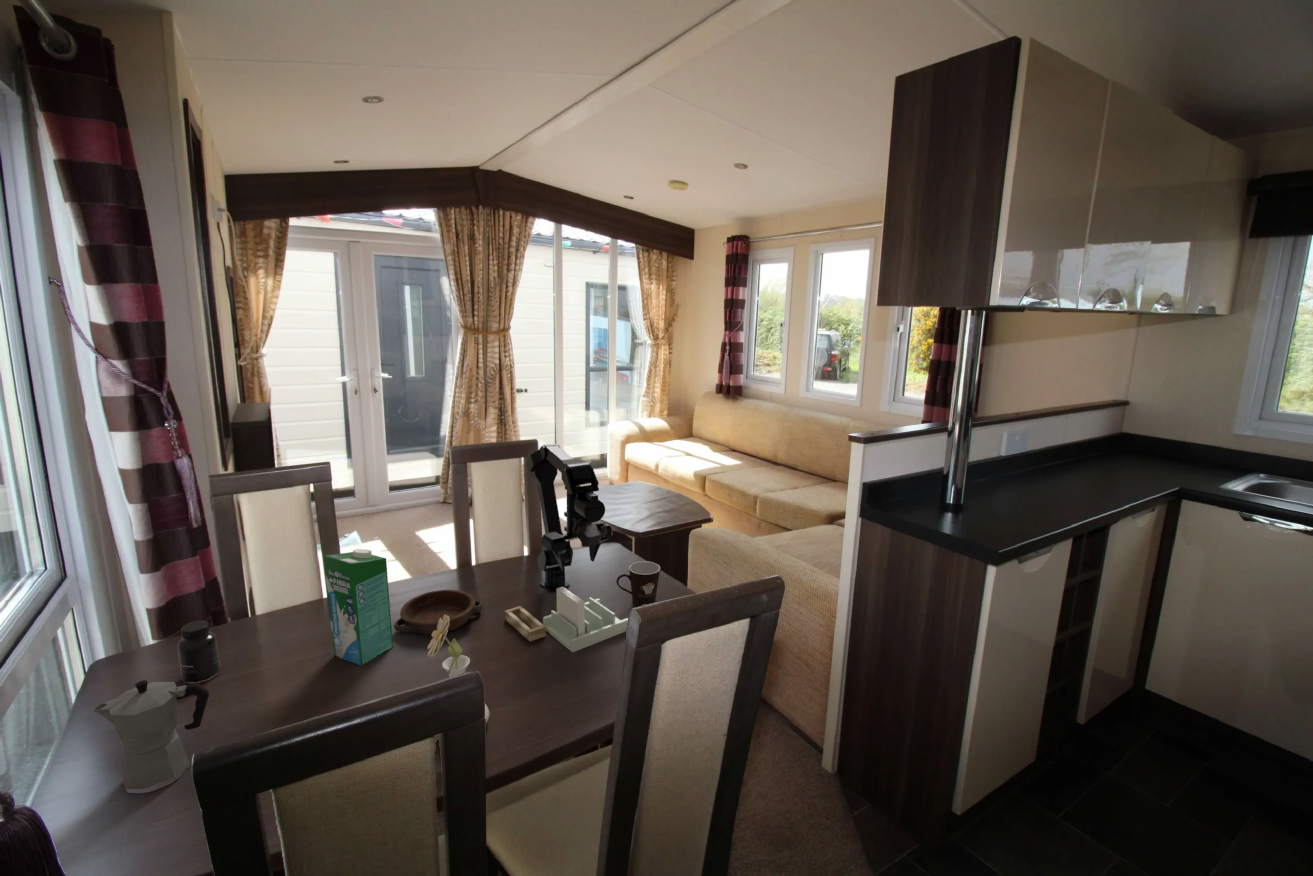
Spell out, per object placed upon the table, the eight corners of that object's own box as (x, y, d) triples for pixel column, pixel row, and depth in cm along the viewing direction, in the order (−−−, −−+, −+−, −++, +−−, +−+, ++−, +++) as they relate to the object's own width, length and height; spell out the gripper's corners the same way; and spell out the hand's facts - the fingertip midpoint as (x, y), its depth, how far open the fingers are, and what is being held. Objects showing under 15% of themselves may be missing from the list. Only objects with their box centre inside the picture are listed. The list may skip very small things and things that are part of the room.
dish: (385, 620, 157) (384, 602, 156) (469, 597, 170) (468, 581, 169) (404, 651, 144) (403, 632, 143) (493, 624, 157) (493, 606, 156)
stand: (505, 619, 159) (505, 610, 158) (520, 614, 161) (520, 605, 161) (529, 641, 149) (529, 632, 148) (545, 636, 151) (545, 626, 151)
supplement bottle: (179, 689, 128) (170, 637, 125) (185, 671, 134) (177, 621, 131) (218, 680, 131) (211, 629, 128) (223, 663, 137) (216, 615, 134)
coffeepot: (97, 806, 98) (77, 708, 94) (119, 766, 107) (101, 675, 103) (212, 778, 104) (198, 685, 100) (224, 743, 113) (211, 655, 109)
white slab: (557, 624, 155) (556, 588, 153) (563, 622, 156) (562, 586, 154) (578, 641, 147) (578, 603, 145) (584, 639, 148) (584, 601, 146)
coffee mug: (660, 594, 174) (661, 562, 172) (657, 609, 166) (658, 575, 164) (620, 592, 175) (620, 559, 173) (615, 606, 167) (615, 572, 165)
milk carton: (393, 647, 145) (385, 548, 140) (361, 666, 137) (351, 563, 132) (366, 637, 149) (358, 541, 143) (333, 656, 141) (323, 555, 135)
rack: (543, 628, 155) (542, 610, 154) (598, 608, 166) (598, 591, 165) (572, 652, 144) (572, 633, 143) (629, 629, 155) (629, 612, 154)
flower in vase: (441, 705, 125) (434, 593, 119) (496, 708, 124) (492, 595, 119) (414, 751, 112) (406, 627, 106) (476, 754, 111) (470, 630, 106)
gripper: (562, 526, 147) (562, 586, 150) (624, 511, 158) (623, 567, 162) (539, 513, 155) (540, 570, 159) (601, 500, 167) (600, 553, 170)
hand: (577, 565), depth 162 cm, fingers open, 9 cm apart
